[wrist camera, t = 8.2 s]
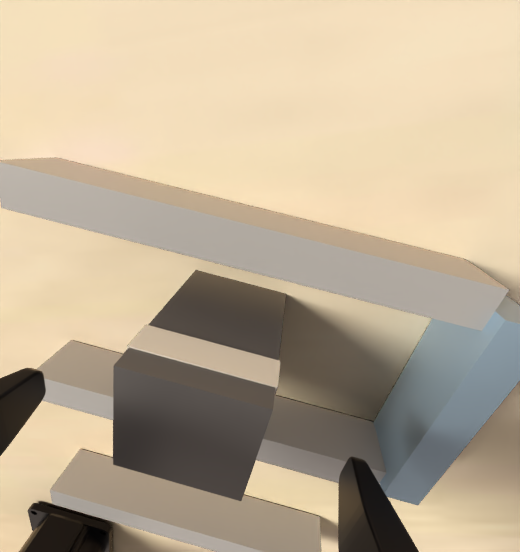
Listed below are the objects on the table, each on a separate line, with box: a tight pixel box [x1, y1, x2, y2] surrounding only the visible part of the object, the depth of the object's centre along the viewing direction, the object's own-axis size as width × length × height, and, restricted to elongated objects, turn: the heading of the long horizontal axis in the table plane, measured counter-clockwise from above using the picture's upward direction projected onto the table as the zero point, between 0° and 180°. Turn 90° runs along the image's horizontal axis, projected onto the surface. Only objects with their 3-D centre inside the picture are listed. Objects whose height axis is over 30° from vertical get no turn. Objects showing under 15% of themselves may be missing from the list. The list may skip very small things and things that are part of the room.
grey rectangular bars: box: [0, 157, 520, 552], centre depth 14 cm, size 20×18×3 cm
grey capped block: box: [113, 270, 286, 501], centre depth 11 cm, size 4×4×6 cm
